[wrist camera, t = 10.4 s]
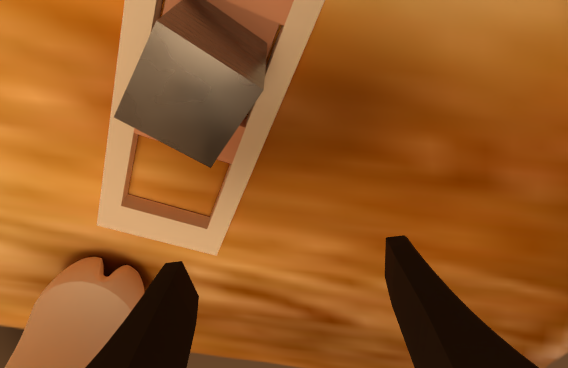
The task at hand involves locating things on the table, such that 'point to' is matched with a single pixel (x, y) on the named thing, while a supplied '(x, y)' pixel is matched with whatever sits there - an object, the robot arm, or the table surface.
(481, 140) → the table surface
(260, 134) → the beige rectangular frame
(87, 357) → the water bottle
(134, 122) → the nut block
